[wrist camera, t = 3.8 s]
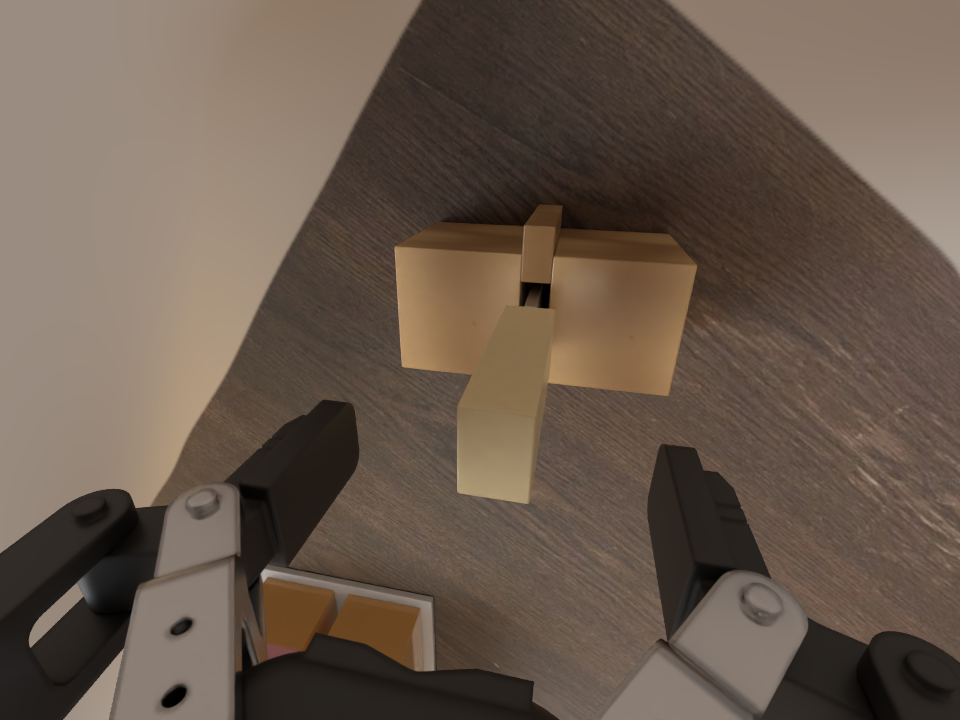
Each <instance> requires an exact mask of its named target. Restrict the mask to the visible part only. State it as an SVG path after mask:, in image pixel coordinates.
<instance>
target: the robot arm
mask: <svg viewBox="0 0 960 720" xmlns="http://www.w3.org/2000/svg"><path fill="white" fill-rule="evenodd" d="M358 459H359V444H358V435H357V426H356V418H355V410H354V407H353V405H352V404H351V403H347V402H339V401H331V400H322V401H321V402H320V403H319V404H318V405H317V406H316V407H315V408H314V409H313V410H312V411H311V412H310V413H309V414H308V415H307V416H306V415H302V416H300V417H298V418H296V419H294V420H292V421H290V422H288V423H286V424H285V425H284V426H283V427H281V428H280V429H279V430H278V431H277V432H276V433H275V434H274V435H273V436H272V439H269V440H268V441H267V442H266V443H265V444H263V445H262V448H261V449H260V448H259V449H258V450H257V451H256V452H255V453H254V454H253V455H252V456H251V457H250V458H249V459H248V460H246V461H245V462H244V463H243V464H242V465H241V466H240V467H239V468H238V469H237V470H236V471H235V472H234V473H233V474H232V475H231V476H230V477H228V478H227V479H226V480H225V481H224V482H211V483H206V484H202V485H199V486H196V487H193V488H191V489H189V490H187V491H185V492H184V493H182V494H180V495H179V496H178V497H176V498H175V499H174V500H173V501H172V502H171V503H170V505H167V506H155V507H143V508H135V505H134V503H133V500H132V498H131V496H130V494H129V493H128V492H126V491H124V490H120V489H107V490H101V491H96V492H93V493H89V494H87V495H84V496H81V497H79V498H77V499H75V500H73V501H71V502H70V503H68V504H66V505H65V506H63V507H62V508H60V509H59V510H58V511H56V512H55V513H54V514H52V515H51V516H50V517H48V518H47V519H46V520H44V521H43V522H42V523H41V524H39V525H38V526H36V527H35V528H34V529H32V530H31V531H30V532H28V533H27V534H26V535H24V536H23V537H22V538H20V539H19V540H18V541H16V542H15V543H14V544H12V545H11V546H10V547H8V548H7V549H6V550H4V551H3V552H2V553H0V720H63V719H64V718H65V717H66V716H67V714H68V713H69V712H70V711H71V710H72V708H73V707H74V706H75V705H76V703H78V701H79V700H80V699H81V698H82V697H83V695H84V694H85V693H86V692H87V691H88V690H89V688H90V687H91V686H92V685H93V684H94V682H95V681H96V680H97V679H98V678H99V677H100V675H101V674H102V673H103V672H104V671H105V669H106V668H107V667H108V666H109V664H111V662H112V661H113V660H114V659H115V657H116V656H117V655H118V654H119V653H120V652H121V651H122V649H123V648H124V651H123V656H122V661H121V665H120V670H119V675H118V679H117V684H116V689H115V693H114V698H113V703H112V708H111V712H110V717H109V720H559V719H558V718H557V717H556V716H554V715H553V714H551V713H550V712H549V711H547V710H546V709H544V708H543V707H541V706H539V705H537V704H536V703H534V702H532V696H533V686H534V682H533V681H529V680H524V679H520V678H516V677H511V676H507V675H502V674H498V673H493V672H489V671H484V670H480V669H461V670H440V671H414V670H411V669H409V668H407V667H406V666H404V665H402V664H400V663H399V662H397V661H395V660H393V659H392V658H390V657H388V656H386V655H385V654H383V653H381V652H379V651H378V650H376V649H374V648H372V647H371V646H369V645H367V644H365V643H360V642H356V641H351V640H347V639H342V638H338V637H334V636H329V635H325V634H320V633H316V632H315V634H314V636H313V638H312V640H311V641H310V643H309V645H308V647H307V649H306V650H305V651H298V652H293V653H287V654H284V655H280V656H277V657H274V658H271V659H268V651H267V639H266V623H265V608H264V593H263V581H262V576H261V573H262V571H263V570H264V569H265V567H266V566H267V565H268V564H271V565H276V566H281V567H286V568H287V567H288V566H289V564H290V563H291V561H292V560H293V558H294V557H295V556H296V554H297V553H298V551H299V550H300V548H301V547H302V546H303V544H304V543H305V541H306V540H307V538H308V537H309V536H310V534H311V533H312V531H313V530H314V528H315V527H316V526H317V524H318V523H319V521H320V520H321V518H322V517H323V516H324V514H325V513H326V511H327V510H328V509H329V507H330V506H331V504H332V503H333V501H334V500H335V499H336V497H337V496H338V494H339V493H340V491H341V490H342V489H343V487H344V486H345V484H346V483H347V481H348V480H349V479H350V477H351V476H352V474H353V473H354V471H355V469H356V466H357V463H358ZM647 512H648V523H649V529H650V535H651V542H652V548H653V554H654V560H655V567H656V573H657V579H658V585H659V591H660V598H661V604H662V610H663V616H664V623H665V629H666V635H667V642H666V641H664V640H663V639H659V640H658V641H656V642H655V643H654V644H653V645H652V646H651V647H650V648H649V650H648V651H647V652H646V653H645V654H644V656H643V657H642V658H641V659H640V660H639V662H638V663H637V664H636V665H635V666H634V668H633V669H632V670H631V671H630V672H629V674H628V675H627V676H626V677H625V678H624V680H623V681H622V682H621V683H620V684H619V686H618V687H617V688H616V689H615V690H614V692H613V693H612V694H611V695H610V696H609V698H608V699H607V700H606V701H605V702H604V703H603V705H602V706H601V707H600V708H599V709H598V711H597V712H596V713H595V714H594V715H593V717H592V718H591V719H590V720H960V663H959V662H958V661H957V660H955V659H954V658H953V657H952V656H950V655H949V654H947V653H946V652H944V651H943V650H941V649H940V648H938V647H936V646H935V645H933V644H931V643H929V642H927V641H925V640H923V639H920V638H918V637H915V636H913V635H909V634H906V633H901V632H895V631H886V632H881V633H879V634H877V635H875V636H874V637H873V638H872V640H871V641H870V643H869V645H867V644H865V643H862V642H860V641H858V640H855V639H853V638H851V637H848V636H846V635H844V634H841V633H839V632H837V631H834V630H832V629H829V628H827V627H825V626H823V625H821V624H819V623H817V622H815V621H813V620H811V619H810V618H808V617H807V616H806V613H805V611H804V609H803V607H802V606H801V604H800V603H799V601H798V600H797V599H796V598H795V597H794V596H793V595H792V594H791V593H790V592H789V591H788V590H787V589H786V588H784V587H783V586H782V585H780V584H779V583H777V582H776V581H774V580H772V579H771V577H770V574H769V572H768V570H767V567H766V565H765V562H764V560H763V558H762V555H761V553H760V551H759V548H758V546H757V543H756V541H755V539H754V536H753V534H752V532H751V529H750V527H749V524H747V520H746V517H745V515H744V512H743V510H742V509H741V505H740V503H739V501H738V498H737V496H736V493H735V491H734V489H733V488H732V487H731V486H730V484H729V483H728V482H727V481H726V480H725V479H724V478H723V477H722V476H721V475H720V474H719V473H718V472H711V471H704V470H703V468H702V465H701V462H700V459H699V457H698V454H697V451H696V449H695V448H691V447H683V446H675V445H667V444H661V446H660V448H659V451H658V455H657V459H656V464H655V468H654V473H653V477H652V482H651V486H650V491H649V496H648V509H647ZM76 583H77V584H78V586H79V588H80V590H81V592H82V594H83V596H84V597H83V598H82V599H81V600H80V601H79V602H78V603H77V604H75V605H74V607H72V608H71V609H70V610H69V611H68V612H67V613H66V614H65V615H64V616H63V617H62V618H61V619H60V620H59V621H58V622H57V623H56V624H55V625H54V626H53V627H52V628H51V629H50V630H49V631H48V632H47V633H46V634H45V635H44V636H43V637H42V638H41V639H40V640H38V641H37V642H36V643H35V644H34V645H33V646H32V647H31V648H30V646H29V635H30V632H31V630H32V628H33V626H34V624H35V623H36V621H37V620H38V619H39V617H40V616H41V615H42V614H43V613H44V612H46V611H47V610H48V609H49V608H50V607H51V606H52V605H53V604H54V603H55V602H56V601H57V600H58V599H60V597H62V596H63V595H64V594H65V593H66V592H67V591H68V590H69V589H70V588H71V587H72V586H73V585H75V584H76Z"/></svg>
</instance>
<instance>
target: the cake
mask: <svg viewBox="0 0 960 720" xmlns="http://www.w3.org/2000/svg"><path fill="white" fill-rule="evenodd" d="M261 576H262V581H263V593H264V608H265V623H266V639H267V651H268V659H271V658H274V657H277V656H280V655H284V654H287V653H293V652H298V651H305V650H306V649H307V647H308V645H309V643H310V641H311V640H312V638H313V636H314V634H315V632H316V633H320V634H325V635H329V636H334V637H338V638H342V639H347V640H351V641H356V642H360V643H365V644H367V645H369V646H371V647H372V648H374V649H376V650H378V651H379V652H381V653H383V654H385V655H386V656H388V657H390V658H392V659H393V660H395V661H397V662H399V663H400V664H402V665H404V666H406V667H407V668H409V669H411V670H414V671H436V660H435V634H434V607H433V597H431V596H426V595H420V594H415V593H410V592H405V591H400V590H395V589H390V588H385V587H380V586H375V585H370V584H365V583H360V582H355V581H350V580H345V579H340V578H335V577H330V576H324V575H319V574H314V573H309V572H304V571H299V570H294V569H289V568H284V567H279V566H274V565H269V564H268V565H267V566H266V567H265V569H264V570H263V571H262V573H261Z"/></svg>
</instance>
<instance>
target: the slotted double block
mask: <svg viewBox="0 0 960 720" xmlns="http://www.w3.org/2000/svg"><path fill="white" fill-rule="evenodd" d="M562 210H563V206H562V205H543V204H539V205H538V207H537V208H536V210H535V211H534V212H533V214H532V215H531V217H530V218H529V219H528V221H527V222H526V224H525V225H524V226H509V225H490V224H471V223H452V222H438V223H436V224H434V225H432V226H430V227H429V228H427V229H425V230H423V231H421V232H420V233H418V234H416V235H414V236H413V237H411V238H409V239H407V240H405V241H404V242H402V243H400V244H398V245H396V246H395V261H396V277H397V294H398V310H399V327H400V343H401V359H402V367H406V368H416V369H425V370H434V371H443V372H452V373H461V374H470V375H473V372H474V370H475V368H476V366H477V364H478V362H479V360H480V358H481V356H482V354H483V352H484V350H485V347H486V345H487V343H488V341H489V339H490V337H491V335H492V333H493V331H494V329H495V327H496V325H497V322H498V320H499V318H500V316H501V314H502V312H503V310H504V308H505V306H506V305H509V306H521V307H524V306H525V303H526V300H527V298H528V295H529V292H530V289H531V287H532V284H533V283H547V284H550V283H551V288H550V300H549V309H554V310H555V321H554V331H553V342H552V353H551V364H550V373H549V380H548V383H554V384H563V385H572V386H581V387H591V388H600V389H609V390H618V391H627V392H636V393H645V394H654V395H663V396H668V395H669V392H670V388H671V383H672V379H673V374H674V370H675V365H676V360H677V356H678V351H679V347H680V342H681V338H682V333H683V329H684V324H685V320H686V315H687V311H688V306H689V302H690V297H691V293H692V288H693V284H694V279H695V275H696V270H697V265H696V264H695V263H694V262H693V260H692V259H691V258H690V257H689V256H688V255H687V254H686V253H685V251H684V250H683V249H682V248H681V247H680V246H679V245H678V244H677V242H676V241H675V240H674V239H673V238H672V237H671V236H670V235H669V234H661V233H642V232H622V231H603V230H584V229H565V228H562V229H561V221H562Z"/></svg>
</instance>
